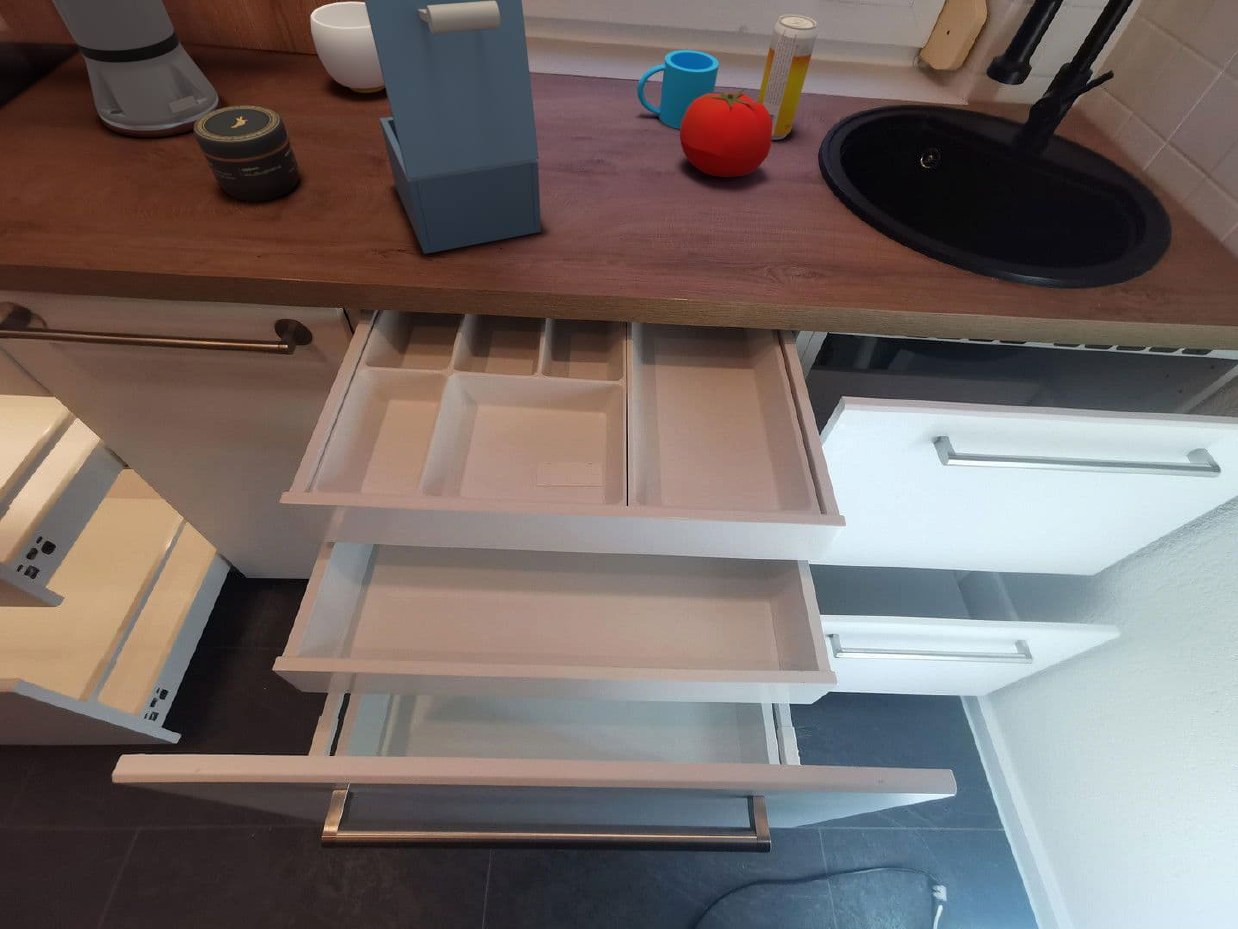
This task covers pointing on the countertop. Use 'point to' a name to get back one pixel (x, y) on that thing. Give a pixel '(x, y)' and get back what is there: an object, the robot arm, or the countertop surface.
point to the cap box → (466, 201)
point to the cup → (347, 45)
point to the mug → (681, 83)
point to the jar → (248, 151)
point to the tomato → (726, 134)
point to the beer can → (786, 70)
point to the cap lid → (456, 82)
